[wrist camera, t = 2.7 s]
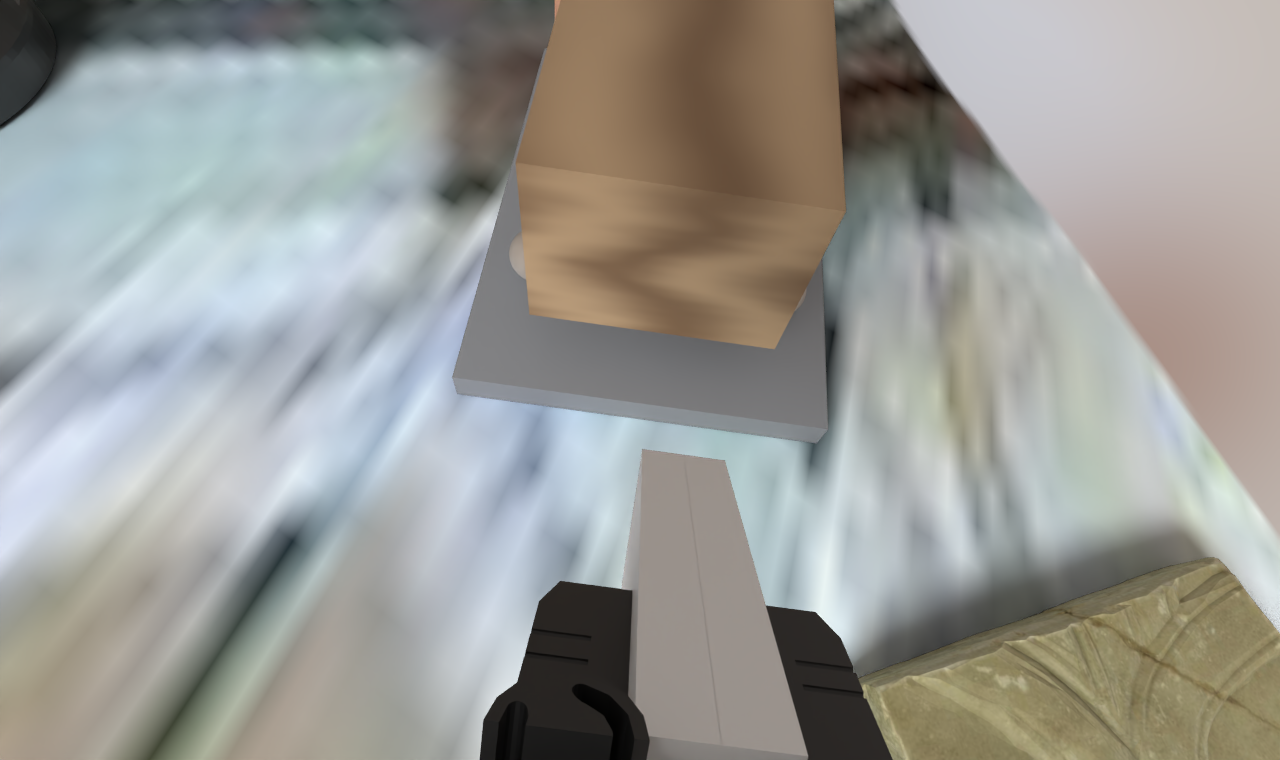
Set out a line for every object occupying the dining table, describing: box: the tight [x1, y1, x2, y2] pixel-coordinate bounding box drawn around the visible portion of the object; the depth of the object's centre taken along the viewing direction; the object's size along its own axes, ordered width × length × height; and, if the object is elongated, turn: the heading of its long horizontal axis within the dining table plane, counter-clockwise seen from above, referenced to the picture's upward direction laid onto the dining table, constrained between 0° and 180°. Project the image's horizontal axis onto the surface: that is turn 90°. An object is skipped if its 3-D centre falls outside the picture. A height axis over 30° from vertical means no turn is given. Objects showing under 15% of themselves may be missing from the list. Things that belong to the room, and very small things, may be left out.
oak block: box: [509, 0, 846, 349], centre depth 27 cm, size 13×12×10 cm
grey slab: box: [452, 0, 828, 443], centre depth 32 cm, size 16×22×6 cm
